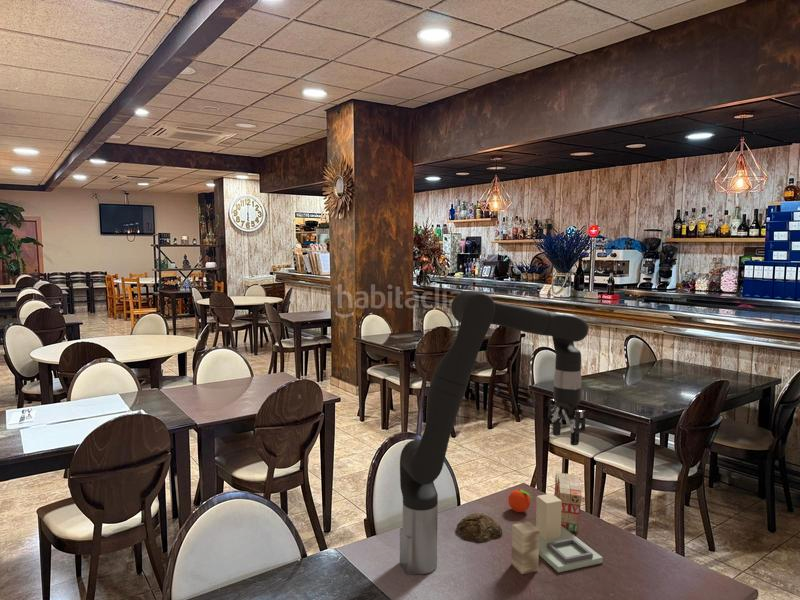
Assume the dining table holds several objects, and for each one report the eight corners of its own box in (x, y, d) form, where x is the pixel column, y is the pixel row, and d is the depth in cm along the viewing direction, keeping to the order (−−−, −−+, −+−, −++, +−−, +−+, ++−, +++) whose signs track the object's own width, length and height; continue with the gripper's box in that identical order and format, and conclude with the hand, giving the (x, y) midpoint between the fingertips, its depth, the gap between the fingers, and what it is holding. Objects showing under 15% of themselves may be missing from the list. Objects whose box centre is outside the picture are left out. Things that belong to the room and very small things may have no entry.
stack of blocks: (553, 498, 188) (556, 463, 187) (572, 500, 187) (576, 466, 185) (556, 530, 168) (559, 491, 166) (578, 534, 166) (581, 495, 165)
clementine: (535, 510, 180) (536, 488, 180) (529, 518, 174) (530, 497, 174) (512, 504, 184) (512, 483, 184) (505, 512, 178) (505, 491, 178)
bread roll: (481, 518, 175) (482, 503, 175) (508, 536, 164) (508, 520, 164) (448, 528, 169) (448, 512, 168) (473, 547, 158) (473, 530, 157)
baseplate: (558, 572, 145) (559, 526, 144) (517, 535, 164) (518, 494, 163) (602, 562, 150) (604, 518, 149) (557, 527, 169) (559, 487, 168)
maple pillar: (521, 574, 145) (522, 533, 144) (511, 564, 149) (512, 524, 148) (538, 570, 146) (539, 530, 145) (527, 560, 151) (528, 521, 150)
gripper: (541, 380, 165) (540, 433, 166) (571, 391, 151) (569, 449, 153) (563, 378, 167) (561, 431, 169) (594, 389, 154) (592, 446, 155)
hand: (565, 439), depth 161 cm, fingers open, 8 cm apart
